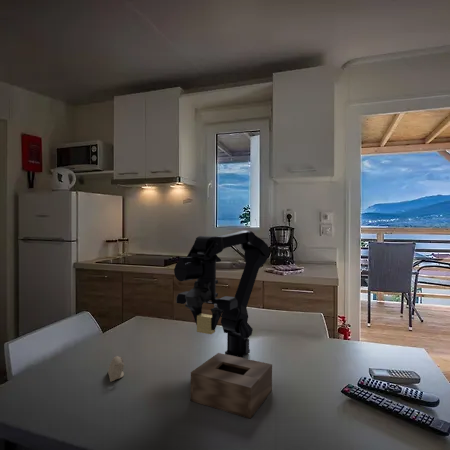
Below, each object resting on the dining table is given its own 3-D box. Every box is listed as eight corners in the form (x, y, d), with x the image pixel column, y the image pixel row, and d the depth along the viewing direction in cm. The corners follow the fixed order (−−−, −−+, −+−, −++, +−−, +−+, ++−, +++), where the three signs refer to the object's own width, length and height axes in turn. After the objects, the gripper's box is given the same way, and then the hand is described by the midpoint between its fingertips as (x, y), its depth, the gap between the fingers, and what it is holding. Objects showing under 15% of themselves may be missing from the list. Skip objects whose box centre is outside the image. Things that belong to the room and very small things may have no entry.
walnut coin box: (190, 400, 82) (190, 372, 82) (218, 377, 95) (218, 352, 95) (250, 418, 75) (250, 387, 75) (271, 391, 87) (272, 364, 87)
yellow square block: (196, 331, 102) (196, 315, 102) (201, 329, 105) (201, 313, 105) (211, 334, 100) (211, 317, 100) (215, 332, 102) (215, 315, 102)
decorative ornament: (122, 369, 100) (122, 351, 100) (125, 381, 92) (125, 362, 92) (107, 371, 98) (107, 353, 98) (110, 384, 90) (110, 364, 90)
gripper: (165, 278, 99) (165, 331, 100) (220, 284, 91) (220, 342, 91) (186, 273, 109) (186, 321, 109) (238, 278, 101) (238, 330, 101)
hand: (206, 328), depth 102 cm, fingers closed on yellow square block, 5 cm apart
